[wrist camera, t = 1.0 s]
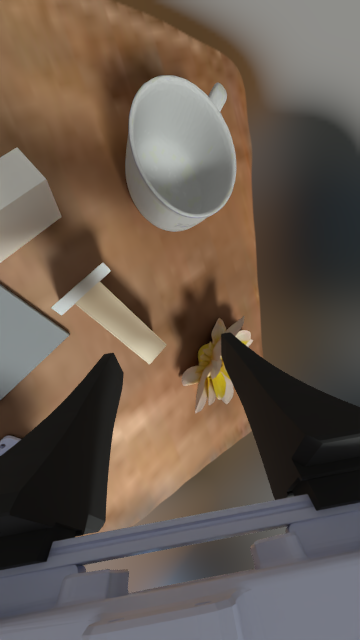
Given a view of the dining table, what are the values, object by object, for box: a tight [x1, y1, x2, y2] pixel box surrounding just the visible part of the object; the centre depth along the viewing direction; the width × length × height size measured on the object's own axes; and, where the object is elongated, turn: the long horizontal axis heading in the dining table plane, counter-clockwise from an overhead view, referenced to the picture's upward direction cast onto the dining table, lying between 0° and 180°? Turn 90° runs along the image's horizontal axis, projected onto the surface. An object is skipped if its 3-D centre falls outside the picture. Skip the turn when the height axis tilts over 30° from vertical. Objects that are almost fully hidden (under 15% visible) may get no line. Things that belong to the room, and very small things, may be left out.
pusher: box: [51, 263, 166, 364], centre depth 20 cm, size 6×11×5 cm, turn 43°
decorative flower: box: [182, 316, 253, 413], centre depth 26 cm, size 15×11×10 cm
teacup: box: [125, 75, 236, 232], centre depth 19 cm, size 14×11×8 cm
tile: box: [0, 148, 62, 263], centre depth 14 cm, size 8×2×7 cm, turn 133°
